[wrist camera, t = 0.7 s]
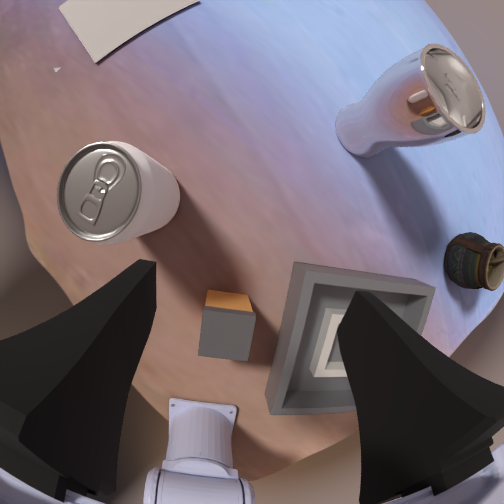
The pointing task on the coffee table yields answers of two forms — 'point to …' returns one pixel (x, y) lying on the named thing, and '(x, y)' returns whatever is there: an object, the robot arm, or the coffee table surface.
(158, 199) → the can
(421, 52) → the beer glass
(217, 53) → the coffee table surface
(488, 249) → the mate gourd
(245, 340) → the plug
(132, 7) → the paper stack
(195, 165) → the coffee table surface
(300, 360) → the box
